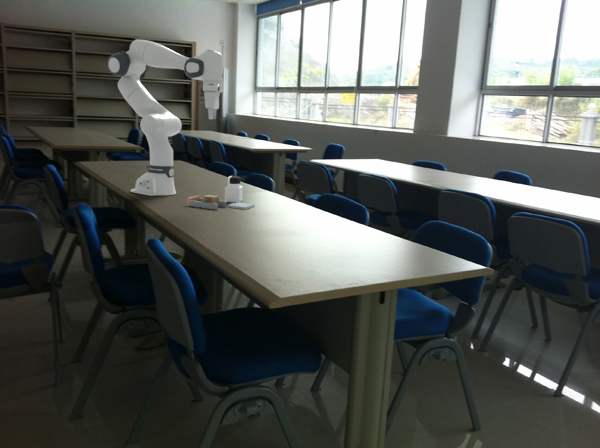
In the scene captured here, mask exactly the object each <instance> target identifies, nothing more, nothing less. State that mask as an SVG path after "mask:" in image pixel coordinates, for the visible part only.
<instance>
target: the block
mask: <svg viewBox="0 0 600 448" xmlns="http://www.w3.org/2000/svg"><path fill="white" fill-rule="evenodd" d="M202 198H203V202H208V203H215V204H218V208H220V207H219V201H220V196H219V195H215V194H214V195H212V194H208V195H203V196H202Z"/></svg>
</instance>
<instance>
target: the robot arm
mask: <svg viewBox="0 0 600 448" xmlns="http://www.w3.org/2000/svg"><path fill="white" fill-rule="evenodd" d="M150 67H152V68H158V69H175V70H176V69H177V70H182V71H184V74H185V76H186V77H188V78H189V79H192V80H196V81H197V80H198V81H202V92H204V107H205V108H206V109H207V114H208V120H216V118H217V110H219V108H220V95H221V93H223V92H224V91H223V90H224V79H223V74H224V57H223V55H222V53H221V52H220V51H217V50H216V51H215V50H212V49H205V50H204V51H203V52H202V53H200V54H198V55H196V56H193V57H188V56H185V55H182V54H180V53H178V52H176V51H174V50H173V49H170V48H168V47H166V46H165V45H162V44H161V43H157V42H154V41H153V40H152V41H151V40H148V39H147V40H146V39H135V40H133V41H132V42H131V43H130V44H129V50H127V51H124V50H122V51H118V52H116V53H113V54H111V55H110V56H109V57H108V60H107V69H108V71H109V73H110V74H112V75H113V76H116V77H120V79H119V80H118V81H117V88H118V90H119V92H120V94H121V95H122V97H123V98H124V100H125V101H126V102H127V104H128V105H129V106H130V107H131V108H132V109H133V111H134V112H135V113H136V114H137V115H138V116H140V117H141V120H140V126H139V127H140V129H141V132H142V133H143V134H144V135H145V137H146V140H147V143H148V147H149V164H148V165H145V168H146V169H147V170H146V172H145V173H144V174H142V175H141V176H140V177H138V178H137V179H136V180H135V188H132V189H130V193H135V194H140V195H144V196H150V197H151V196H173V195H176V194H177V191H176V188H175V180H174V175H175V165H174V149H173V147H172V146H171V145H170V141H169V138H168V137H173V136H176V135H177V134H180V133H181V130H182V126H183V125H182V121H181V119H180V118H179V117H177V116H176V115H175V114H173V113H171V112H170V111H169V110H168V109H166V108H165V107H164V106H163V105H161V103H159V102H158V101H157V100H156V98H154V97H153V96H152V94H151V93H150V92H149V91H148V90H147V88H145V85H143V84H142V82H141V80H143V79H144V78H145V77H146V75H147V74H148V72H149V70H150Z"/></svg>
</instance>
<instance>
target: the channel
mask: <svg viewBox="0 0 600 448" xmlns="http://www.w3.org/2000/svg"><path fill="white" fill-rule="evenodd" d="M227 203H228V202H226V201H225V200H219V207H218V204H215V203H208V202H203V197H202V198H201V197H200V195H195V196H190V197H187V206H188V207H193V206H194V207H195V208H200V207H201V209H209V210H216V211H217V210H218V209H219V208H227V205H228V204H227ZM218 211H219V210H218Z"/></svg>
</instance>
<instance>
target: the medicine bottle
mask: <svg viewBox="0 0 600 448" xmlns="http://www.w3.org/2000/svg"><path fill="white" fill-rule="evenodd" d="M241 182H242V181H241V177H240V176H236V175H230V176H228V177H227V186H225V187H224V201H226V202H227V203H235V202H239V203H242V201H243V190H244V188H243V185H241Z"/></svg>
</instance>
